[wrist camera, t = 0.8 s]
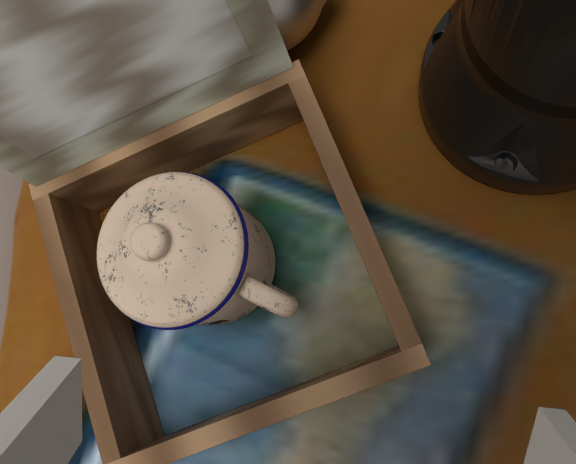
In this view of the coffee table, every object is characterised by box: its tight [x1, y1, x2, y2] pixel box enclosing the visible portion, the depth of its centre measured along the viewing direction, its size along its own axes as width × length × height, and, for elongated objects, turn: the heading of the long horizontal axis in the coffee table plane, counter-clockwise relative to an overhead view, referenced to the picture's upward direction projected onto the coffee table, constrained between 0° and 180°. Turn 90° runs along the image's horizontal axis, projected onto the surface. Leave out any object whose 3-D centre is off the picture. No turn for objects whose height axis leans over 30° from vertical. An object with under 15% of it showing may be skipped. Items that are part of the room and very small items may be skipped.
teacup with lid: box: [97, 172, 298, 330], centre depth 31 cm, size 12×9×12 cm
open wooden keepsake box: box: [0, 0, 431, 464], centre depth 25 cm, size 20×27×26 cm
